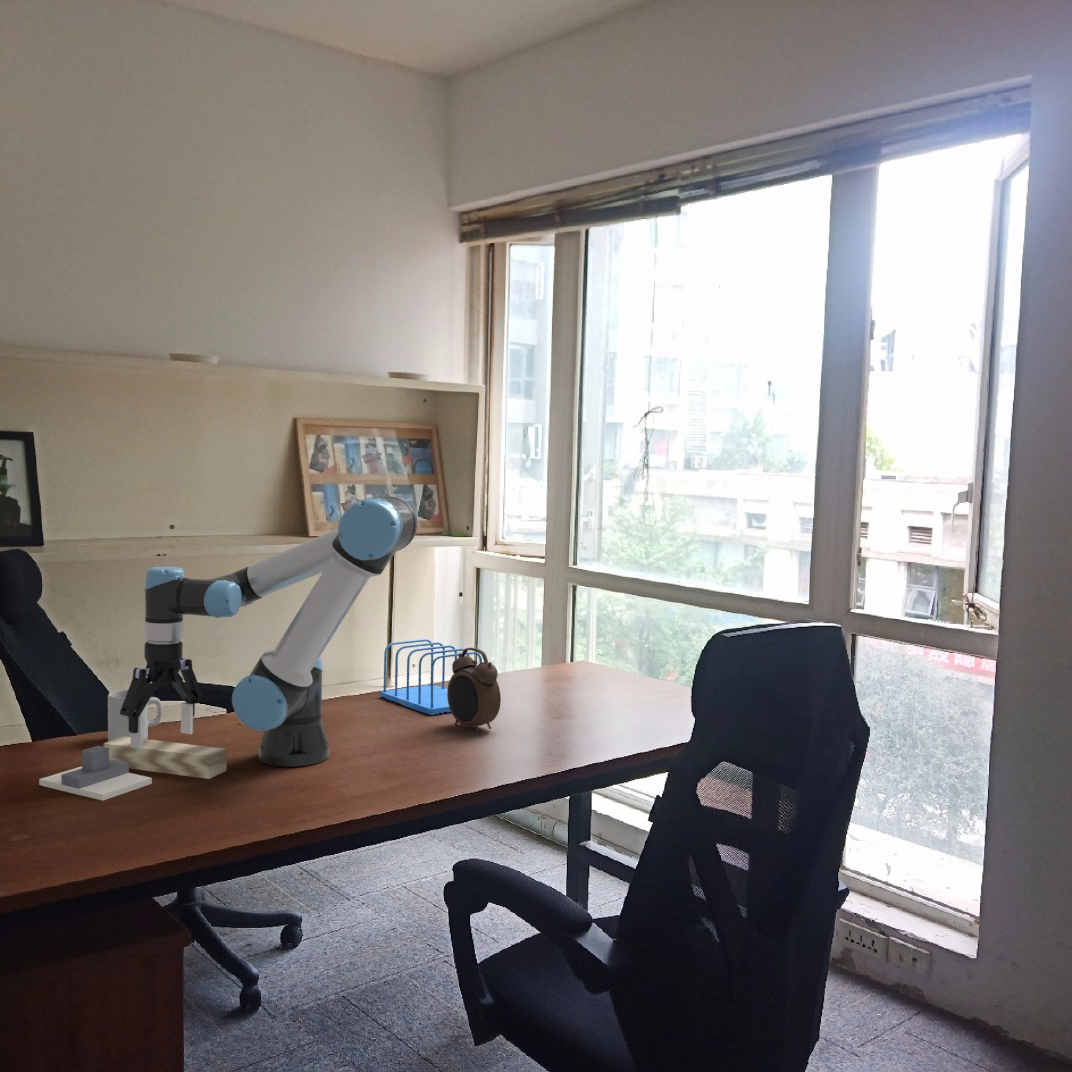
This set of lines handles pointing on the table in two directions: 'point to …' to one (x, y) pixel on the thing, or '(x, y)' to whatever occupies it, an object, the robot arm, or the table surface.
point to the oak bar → (169, 757)
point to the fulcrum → (97, 776)
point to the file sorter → (425, 696)
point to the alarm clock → (473, 691)
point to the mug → (120, 723)
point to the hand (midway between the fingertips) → (162, 740)
